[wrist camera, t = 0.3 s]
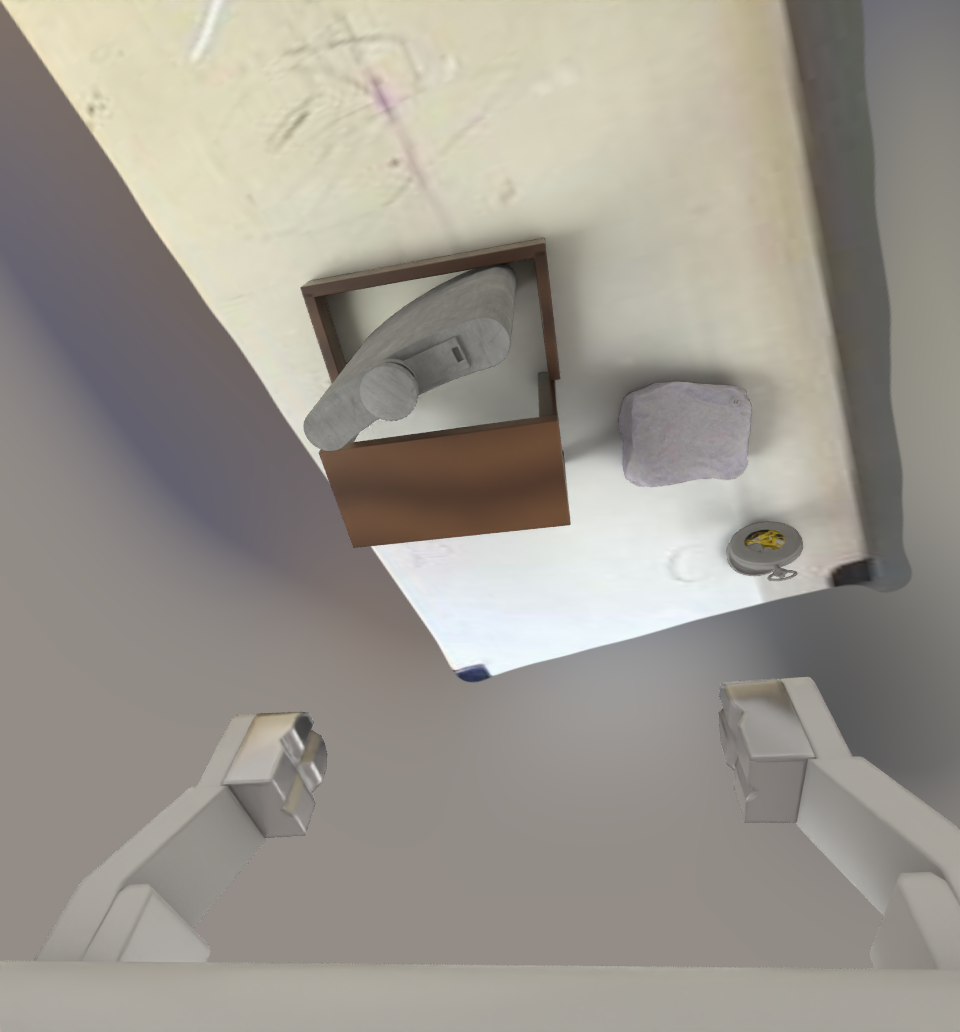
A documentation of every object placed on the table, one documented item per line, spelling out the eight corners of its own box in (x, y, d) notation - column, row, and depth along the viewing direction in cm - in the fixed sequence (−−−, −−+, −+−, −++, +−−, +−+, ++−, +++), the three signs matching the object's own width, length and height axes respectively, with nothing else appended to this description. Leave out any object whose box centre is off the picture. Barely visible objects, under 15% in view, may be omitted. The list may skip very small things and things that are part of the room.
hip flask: (376, 372, 57) (311, 475, 40) (351, 335, 55) (272, 427, 39) (523, 288, 52) (518, 366, 35) (500, 244, 50) (484, 305, 33)
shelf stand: (309, 280, 53) (260, 315, 43) (544, 237, 49) (547, 264, 40) (375, 486, 64) (348, 548, 55) (569, 463, 61) (576, 524, 52)
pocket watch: (753, 579, 67) (784, 644, 59) (700, 542, 65) (725, 604, 57) (814, 533, 63) (857, 595, 55) (760, 492, 61) (796, 550, 53)
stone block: (614, 381, 57) (619, 479, 61) (622, 390, 53) (627, 494, 57) (741, 365, 56) (739, 466, 60) (760, 373, 52) (756, 481, 55)
